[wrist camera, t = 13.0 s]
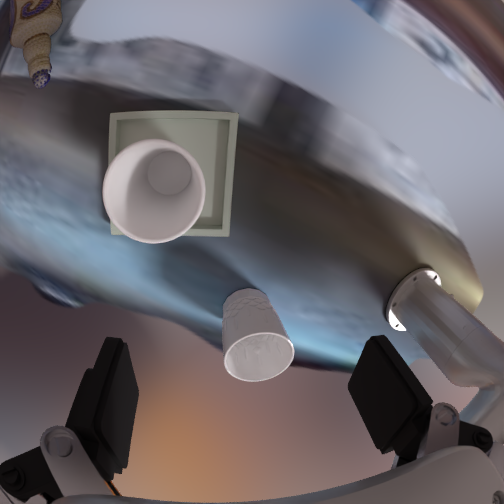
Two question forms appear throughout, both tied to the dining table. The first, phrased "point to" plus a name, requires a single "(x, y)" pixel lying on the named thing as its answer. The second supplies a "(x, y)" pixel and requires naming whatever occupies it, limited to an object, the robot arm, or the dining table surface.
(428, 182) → the dining table surface
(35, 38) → the decorative bottle
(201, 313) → the dining table surface
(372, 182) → the dining table surface
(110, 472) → the robot arm
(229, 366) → the white cup
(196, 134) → the tray
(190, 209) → the dixie cup
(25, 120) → the dining table surface
